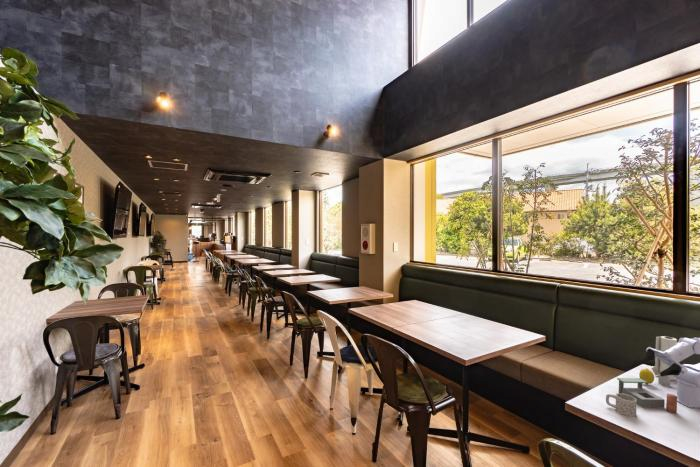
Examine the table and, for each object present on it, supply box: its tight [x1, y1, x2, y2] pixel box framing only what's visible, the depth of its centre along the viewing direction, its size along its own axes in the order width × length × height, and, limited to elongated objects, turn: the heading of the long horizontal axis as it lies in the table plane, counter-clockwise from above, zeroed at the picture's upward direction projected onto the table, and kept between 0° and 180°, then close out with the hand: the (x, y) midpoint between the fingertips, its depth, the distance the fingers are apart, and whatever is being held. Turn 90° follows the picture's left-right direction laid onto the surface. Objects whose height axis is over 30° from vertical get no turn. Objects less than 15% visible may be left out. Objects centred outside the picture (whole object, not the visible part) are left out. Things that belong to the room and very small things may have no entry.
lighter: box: [650, 365, 671, 388], centre depth 161 cm, size 7×2×8 cm, turn 42°
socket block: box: [616, 377, 665, 409], centre depth 145 cm, size 11×12×7 cm
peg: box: [665, 393, 678, 415], centre depth 136 cm, size 3×3×7 cm
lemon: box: [638, 368, 655, 385], centre depth 160 cm, size 6×6×8 cm
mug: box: [605, 392, 638, 418], centre depth 136 cm, size 10×7×7 cm
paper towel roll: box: [654, 335, 678, 381], centre depth 168 cm, size 7×6×21 cm
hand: (651, 368), depth 140 cm, fingers open, 7 cm apart
